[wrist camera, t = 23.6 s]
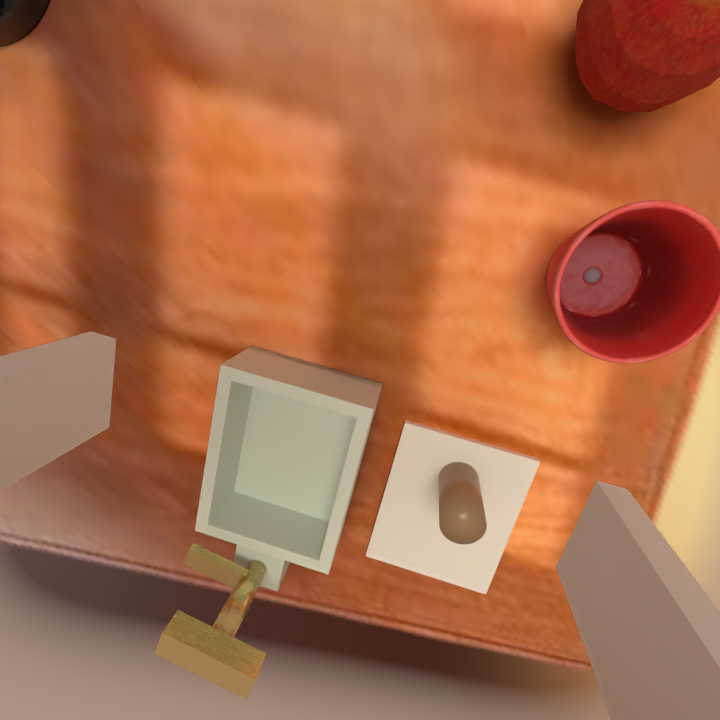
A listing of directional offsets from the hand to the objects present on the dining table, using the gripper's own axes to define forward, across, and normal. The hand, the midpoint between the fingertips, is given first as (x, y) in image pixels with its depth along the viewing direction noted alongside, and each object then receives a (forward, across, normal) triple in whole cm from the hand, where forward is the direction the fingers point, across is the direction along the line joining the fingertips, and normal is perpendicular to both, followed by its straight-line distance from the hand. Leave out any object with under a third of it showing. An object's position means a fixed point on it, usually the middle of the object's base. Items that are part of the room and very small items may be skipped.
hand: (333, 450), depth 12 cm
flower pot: (+32, +15, +6) cm, 36 cm away
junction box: (+32, -7, -20) cm, 38 cm away
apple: (+32, +11, +22) cm, 40 cm away
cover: (+32, +10, -20) cm, 39 cm away
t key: (+24, -8, -29) cm, 39 cm away
